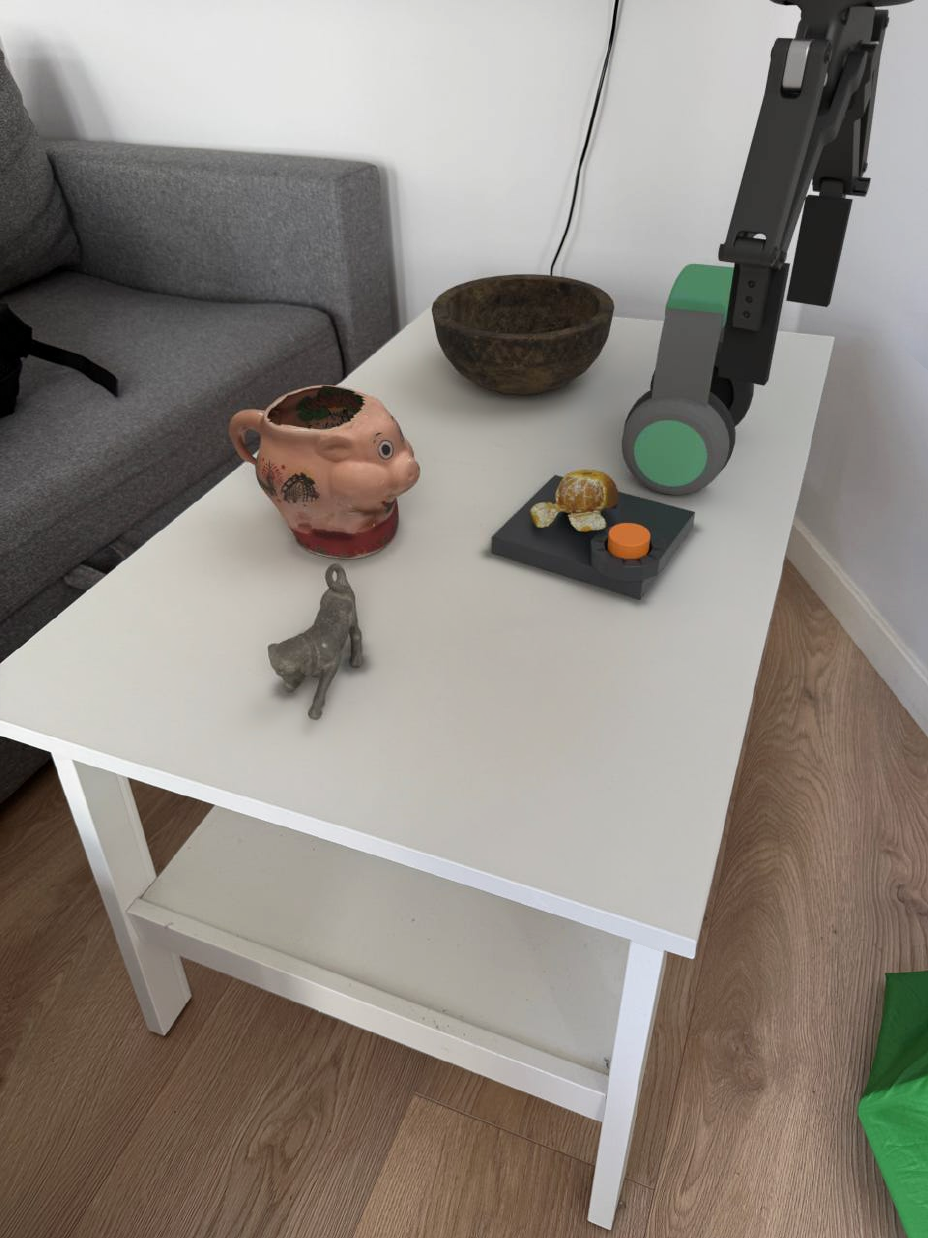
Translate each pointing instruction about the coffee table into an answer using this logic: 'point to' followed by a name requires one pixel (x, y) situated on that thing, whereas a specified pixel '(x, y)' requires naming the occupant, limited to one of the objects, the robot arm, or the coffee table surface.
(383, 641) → the coffee table surface
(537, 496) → the scale
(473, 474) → the coffee table surface
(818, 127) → the robot arm
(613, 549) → the button
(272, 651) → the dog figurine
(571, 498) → the fruit
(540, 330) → the bowl
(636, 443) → the grey headset
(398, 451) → the decorative planter
